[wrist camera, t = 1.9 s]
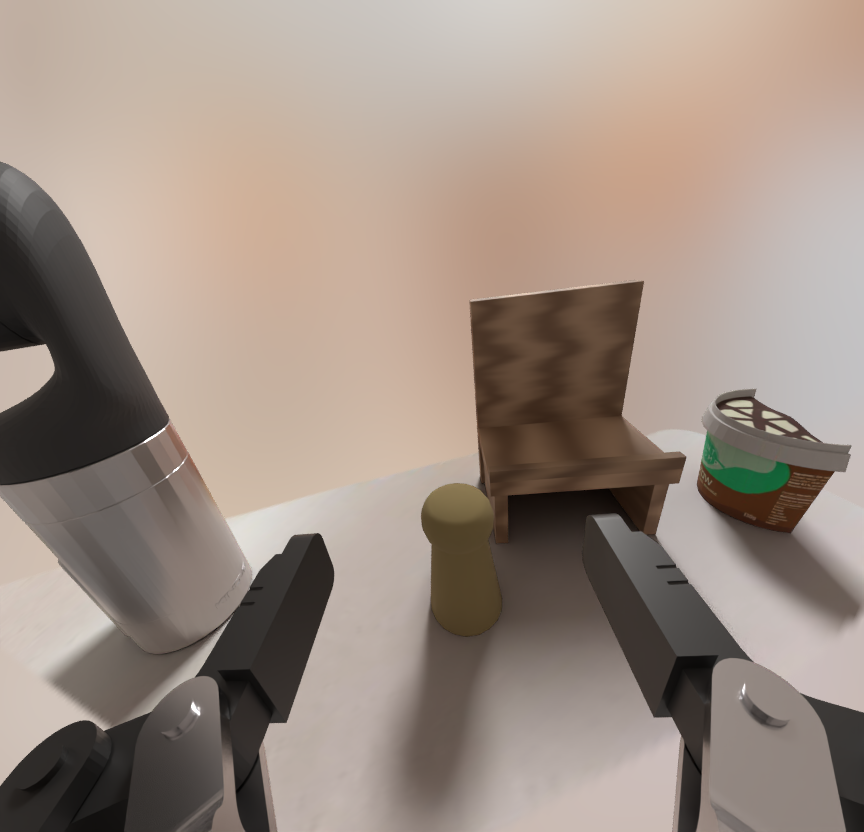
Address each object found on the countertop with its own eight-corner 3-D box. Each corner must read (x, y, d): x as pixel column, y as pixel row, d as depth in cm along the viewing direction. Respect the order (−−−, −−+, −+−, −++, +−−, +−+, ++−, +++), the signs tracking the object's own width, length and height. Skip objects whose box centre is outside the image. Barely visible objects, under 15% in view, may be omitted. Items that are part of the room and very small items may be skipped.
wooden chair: (492, 547, 31) (482, 318, 21) (480, 475, 41) (469, 299, 32) (663, 537, 30) (734, 289, 20) (605, 466, 40) (634, 280, 30)
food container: (665, 461, 40) (684, 387, 35) (725, 463, 38) (752, 386, 33) (717, 537, 29) (753, 446, 25) (803, 546, 27) (858, 449, 23)
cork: (458, 654, 23) (443, 548, 18) (418, 591, 28) (397, 494, 23) (518, 606, 25) (518, 502, 21) (471, 556, 30) (463, 462, 25)
